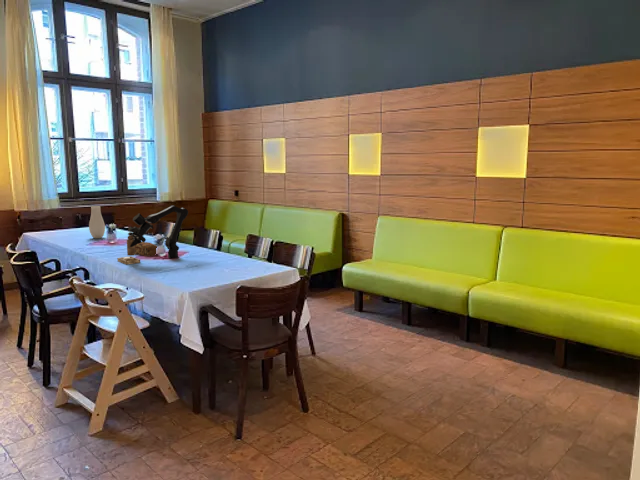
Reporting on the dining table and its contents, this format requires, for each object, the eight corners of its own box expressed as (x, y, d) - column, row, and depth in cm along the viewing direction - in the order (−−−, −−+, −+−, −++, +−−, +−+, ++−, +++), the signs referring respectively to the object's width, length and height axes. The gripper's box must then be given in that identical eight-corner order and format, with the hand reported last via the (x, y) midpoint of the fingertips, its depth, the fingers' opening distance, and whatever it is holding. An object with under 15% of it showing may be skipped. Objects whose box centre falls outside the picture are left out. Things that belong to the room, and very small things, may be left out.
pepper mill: (135, 254, 351) (134, 234, 349) (134, 255, 346) (133, 235, 344) (128, 254, 350) (127, 234, 348) (126, 255, 345) (125, 235, 343)
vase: (106, 238, 457) (104, 206, 452) (90, 239, 450) (88, 207, 445) (104, 236, 469) (102, 205, 464) (89, 237, 462) (86, 206, 457)
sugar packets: (128, 260, 357) (128, 257, 356) (130, 260, 355) (130, 257, 354) (122, 261, 354) (122, 257, 353) (124, 261, 352) (124, 258, 351)
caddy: (131, 259, 361) (130, 256, 360) (140, 263, 349) (140, 259, 349) (117, 261, 354) (117, 258, 353) (126, 265, 342) (126, 261, 342)
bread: (132, 254, 382) (131, 242, 381) (144, 252, 391) (143, 240, 389) (147, 257, 372) (147, 244, 370) (159, 255, 381) (158, 242, 379)
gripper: (129, 221, 354) (115, 237, 348) (140, 223, 340) (125, 240, 335) (140, 230, 360) (126, 247, 355) (151, 233, 347) (137, 250, 341)
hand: (129, 246), depth 346 cm, fingers closed on pepper mill, 5 cm apart
